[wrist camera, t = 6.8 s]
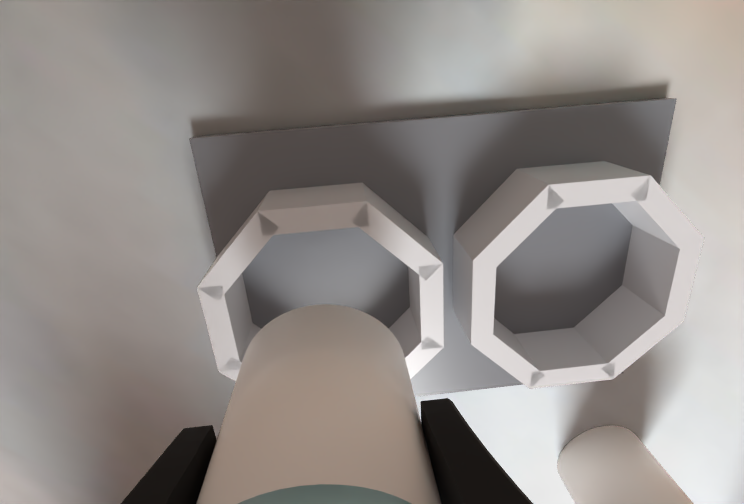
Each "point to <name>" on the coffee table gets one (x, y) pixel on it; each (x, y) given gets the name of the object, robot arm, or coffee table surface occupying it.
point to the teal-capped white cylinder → (321, 418)
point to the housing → (457, 239)
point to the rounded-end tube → (615, 470)
